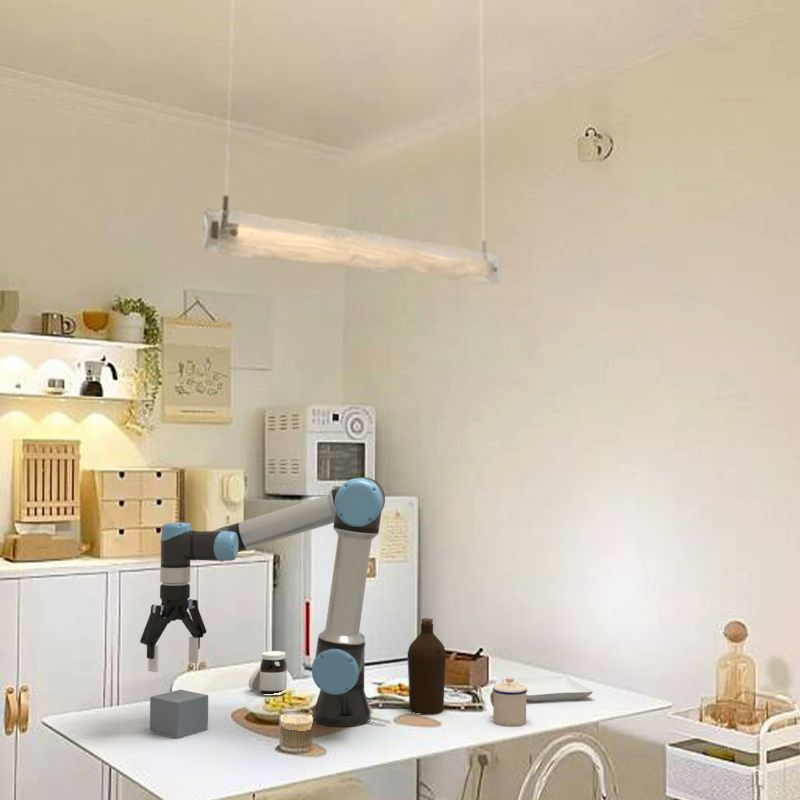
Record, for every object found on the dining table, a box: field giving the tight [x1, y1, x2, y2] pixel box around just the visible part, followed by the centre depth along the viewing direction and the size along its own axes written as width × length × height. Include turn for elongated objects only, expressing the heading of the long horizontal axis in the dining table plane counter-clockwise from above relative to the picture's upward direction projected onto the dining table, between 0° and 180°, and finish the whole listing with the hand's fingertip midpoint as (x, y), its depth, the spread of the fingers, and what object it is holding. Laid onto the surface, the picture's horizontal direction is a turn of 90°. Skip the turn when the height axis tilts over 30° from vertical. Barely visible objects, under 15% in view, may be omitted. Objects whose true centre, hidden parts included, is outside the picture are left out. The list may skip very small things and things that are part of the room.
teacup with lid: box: [489, 676, 527, 727], centre depth 283 cm, size 12×9×12 cm
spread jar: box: [248, 650, 288, 695], centre depth 313 cm, size 12×11×12 cm
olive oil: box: [407, 617, 447, 715], centre depth 294 cm, size 11×11×25 cm
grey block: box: [149, 689, 209, 739], centre depth 270 cm, size 10×10×9 cm
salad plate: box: [501, 675, 594, 703], centre depth 314 cm, size 21×21×3 cm
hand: (173, 667), depth 272 cm, fingers open, 13 cm apart
